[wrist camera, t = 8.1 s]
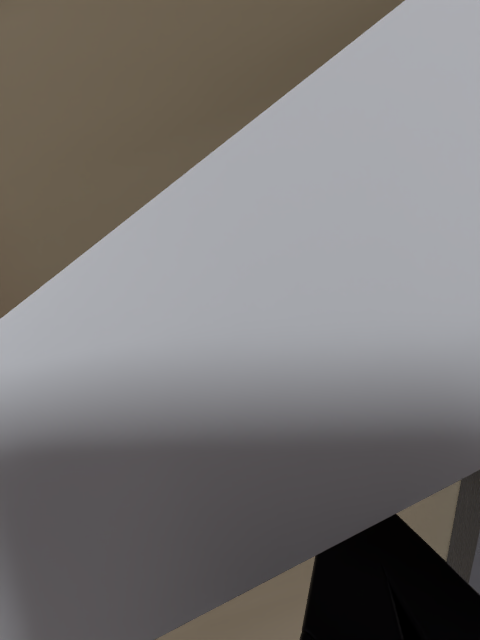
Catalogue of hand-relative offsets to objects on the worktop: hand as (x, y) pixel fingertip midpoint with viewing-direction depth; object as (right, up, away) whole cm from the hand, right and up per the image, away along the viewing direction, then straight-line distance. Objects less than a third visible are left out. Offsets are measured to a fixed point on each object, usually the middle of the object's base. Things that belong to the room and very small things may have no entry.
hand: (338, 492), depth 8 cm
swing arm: (+1, +6, -1) cm, 6 cm away
